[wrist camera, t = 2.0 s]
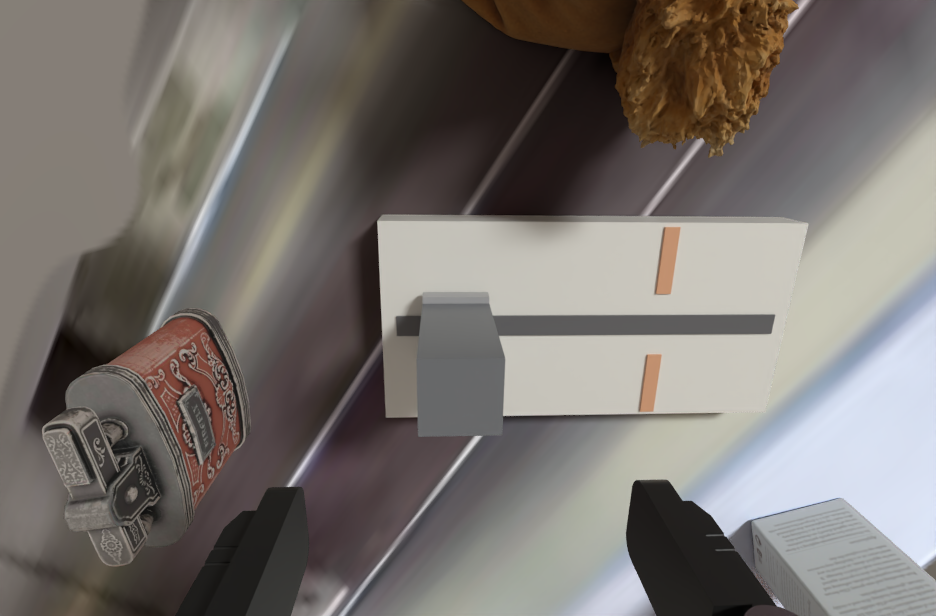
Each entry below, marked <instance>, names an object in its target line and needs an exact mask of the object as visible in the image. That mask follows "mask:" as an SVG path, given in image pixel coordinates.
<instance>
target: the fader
mask: <svg viewBox="0 0 936 616" xmlns="http://www.w3.org/2000/svg"><path fill="white" fill-rule="evenodd" d="M422 302H423V304H422V313H421V322H420V331H419V340H418V349H417V359H416V362H417V411H418V437H425V436H485V435H502V429H503V404H504V379H505V355H504V352H503V349H502V345H501V342H500V338H499V335H498V332H497V328H496V325H495V321H494V318H493V315H492V311H491V308H490V304H489V294H488V292H423V297H422Z"/></svg>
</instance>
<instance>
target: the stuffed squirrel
mask: <svg viewBox="0 0 936 616" xmlns="http://www.w3.org/2000/svg"><path fill="white" fill-rule="evenodd" d="M462 1H463V2H464V3H465V4H466V5H467V6H469V7H470V8H471V9H473V10H474V11H475V12H476V13H477V14H478V15H480V16H481V17H482V18H484V19H485V20H486V21H488V22H489V23H491V24H492V25H493V26H494V27H495V28H497V29H498V30H500V31H502V32H503V33H505V34H506V35H508V36H510V37H512V38H515V39H519V40H524V41H529V42H534V43H539V44H545V45H550V46H555V47H560V48H566V49H574V50H579V51H589V52H603V53H609V56H610V58H611V60H612V64H613V68H614V70H615V71H616V72H617V77H616V79H617V81H616V85H615V88H616V89H617V91H618V92H619V93H620V94H619V96H620V97H621V105H622V107H623V108H624V110H623V114H624V116H626V117H627V118H628V122H629V128H630V129H631V130H632V133H635V134H636V135H638V136H639V142H640V141H641V140H643V141H642V143H641V148H643V147H645V146H646V145H648V144H649V143H654V142H656V141H657V140H658V141H659V142H663V143H672V145H673V148H674V149H676V145H675V144H676V143H677V142H679V141H682V140H683V142H682V145H683V144H684V143H685V140H686V137H687V139H693V138H694V136H696V138H697V139H700V138H703V139H704V141H705V143H706V144H707V143H710V145H711V148H710V150H709V156H708V158H710V157H711V156H714V155H716V156H722V155H723V150H722V149H723V146H724V145H725V144H726V143H727V142H729V143H730V145H732V144H734V141H733V139H734V135H735V134H736V133H737V132H741V133H744V131H745V129H746V130H749V122H750V117H751V116H752V115H756V114H757V113H758V108H759V103H760V101H759V100H760V99H761V98H762V97H766V96H767V94H768V89H769V78H770V74H771V71H772V70H773V68H774V67H776V65H778V64H779V63H780V62H779V60H780V58H779V54H780V52H782V49H783V47H784V44H783V38H784V37H782V36H783V34H784V33H785V31H786V29H787V28H788V21H787V15H788V14H790V13H792V12H793V11H794V10H796V9H798V8H799V7H798V4H796V3H795V2H794V1H792V0H462Z"/></svg>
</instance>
